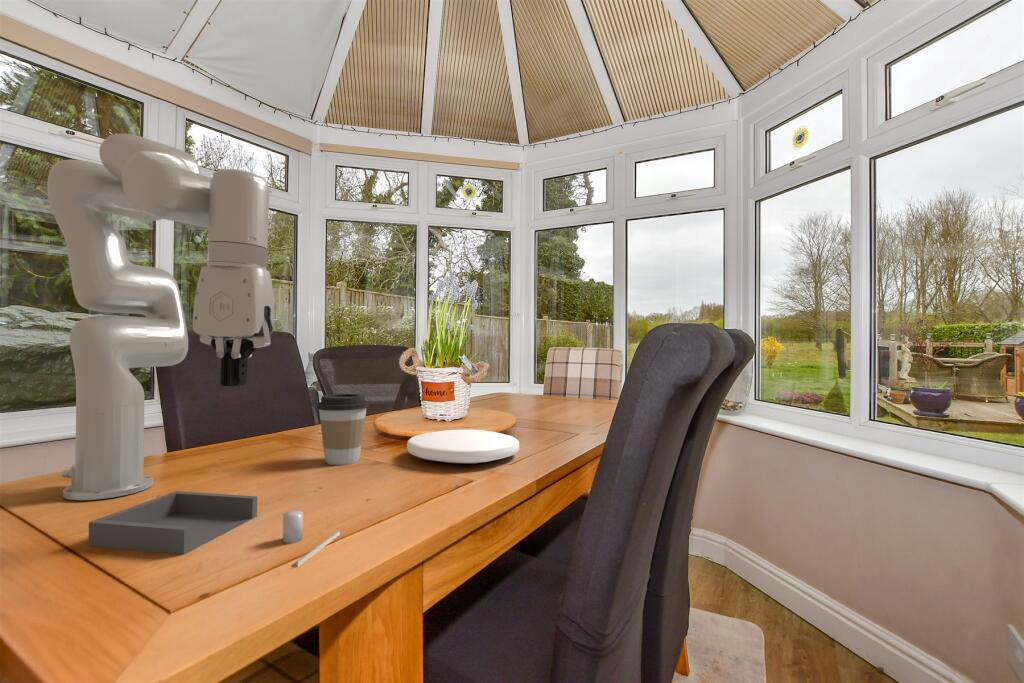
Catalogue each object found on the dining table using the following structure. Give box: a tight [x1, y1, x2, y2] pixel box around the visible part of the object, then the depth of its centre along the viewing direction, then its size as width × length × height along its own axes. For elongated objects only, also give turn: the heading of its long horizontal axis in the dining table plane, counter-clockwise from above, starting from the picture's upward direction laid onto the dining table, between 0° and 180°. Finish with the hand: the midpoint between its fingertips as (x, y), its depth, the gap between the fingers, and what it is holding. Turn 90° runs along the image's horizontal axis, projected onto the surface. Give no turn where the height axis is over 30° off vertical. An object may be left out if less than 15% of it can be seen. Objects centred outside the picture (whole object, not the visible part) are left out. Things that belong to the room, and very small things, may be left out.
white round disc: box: [406, 429, 520, 464], centre depth 116 cm, size 28×6×27 cm
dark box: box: [87, 490, 258, 556], centre depth 67 cm, size 14×13×4 cm
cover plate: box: [282, 510, 341, 568], centre depth 64 cm, size 12×10×5 cm
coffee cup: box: [316, 393, 370, 466], centre depth 110 cm, size 11×11×15 cm
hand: (233, 385), depth 70 cm, fingers closed
